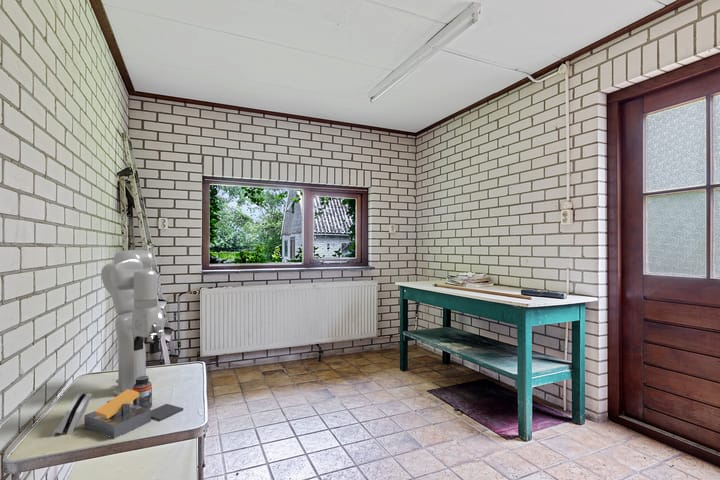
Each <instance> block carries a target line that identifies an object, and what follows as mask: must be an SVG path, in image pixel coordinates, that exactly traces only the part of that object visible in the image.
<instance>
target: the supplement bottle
mask: <svg viewBox="0 0 720 480" xmlns="http://www.w3.org/2000/svg"><path fill="white" fill-rule="evenodd" d="M152 385H153V384H152V382H151V381H150V379H149V376H148V375H146V376H140V377H137V378H136V383H135V384H134V386H133V391H137V392H139V395H140V396H139V397H137V398H136V399H135V400H133V401H132V404H134V405H137V406H141V407H144V408H148V409H151V408H152V406H153V386H152Z"/></svg>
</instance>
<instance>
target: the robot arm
mask: <svg viewBox="0 0 720 480" xmlns="http://www.w3.org/2000/svg"><path fill="white" fill-rule="evenodd" d="M112 258H113V260H112V262H110V263H107V264H106V265H104V266H102V269H101V272H100V273H101V274H100V275H101V276H100V277H101V280H102V284H103V286H104V288H105V290H106V291H107V292H108V293H109V295H110V296H111V299H112V302H113V306H114V310H115V313H116V315H117V317H116V319H115V322H114V328H115V332H116V337H117V338H116V339H117V357H118V358H117V360H118V363H117V364H118V366H117V367H118V370H117V371H118V372H117V373H118V379H116V380H115V383H116V384H117V387H116V388H115V389H113V394H114V395H115V396H116V397H117V396H118V395H120V394H121V393H122V392H124V391H125V390H127V389H129V390H133V386H134V384H135V383H136V378H137V377H140V376H147V366H146V362H147V361H146V360H147V358H146V355H147V354H146V344H145V342H144V338H146V339H147V338H148V339H149V340H150V342H149V354H150V355H153V354H157V353H160V341H161V339H162V333H163V329H164V327H165V323H166V320H165V315H164V313H163V310H162V308H161V305H160V301H159V300H158V273H157V271H156V270H154V269H152V268H153V264H154V256H153V254H152V252H150V251H149V250H146V249H126V250H120V251H118V252H116V253H115V254H114V257H112Z"/></svg>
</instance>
